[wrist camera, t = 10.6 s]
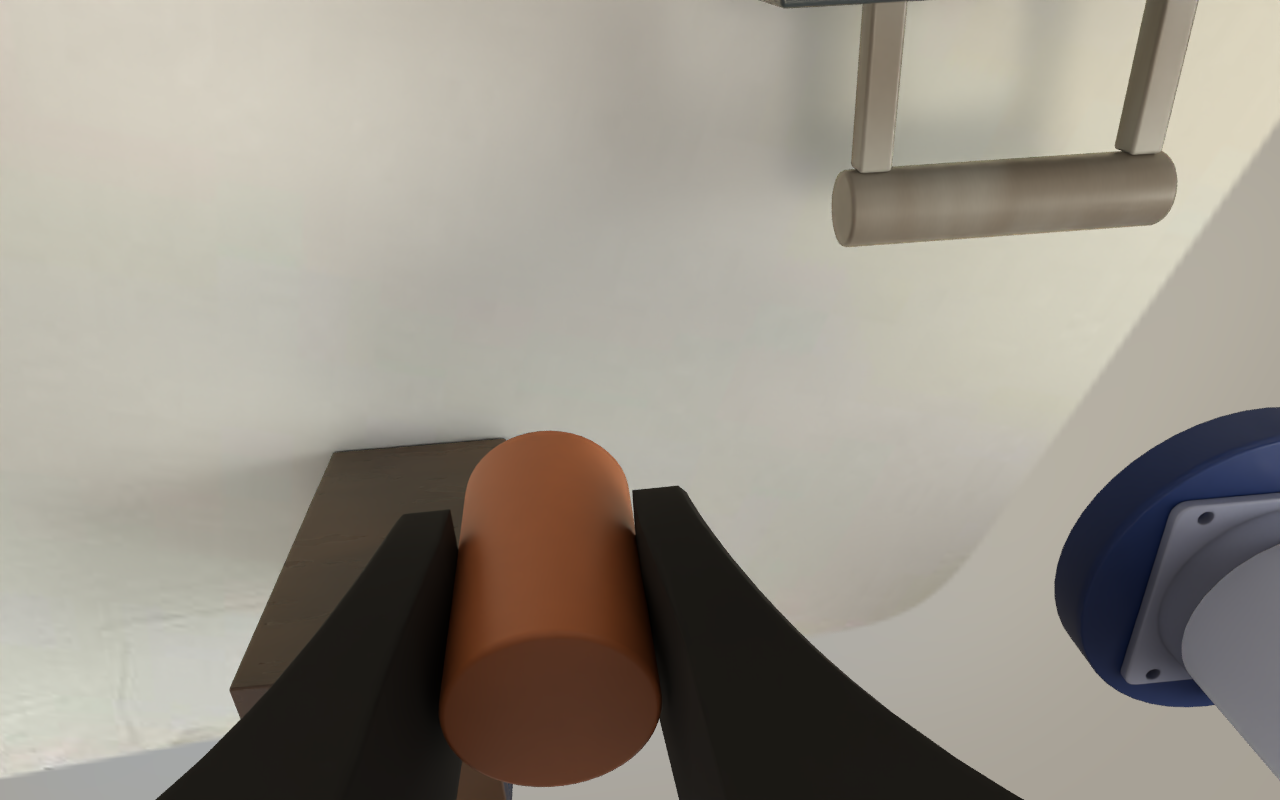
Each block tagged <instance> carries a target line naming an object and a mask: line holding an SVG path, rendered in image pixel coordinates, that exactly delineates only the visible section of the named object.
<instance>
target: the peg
mask: <svg viewBox="0 0 1280 800" xmlns="http://www.w3.org/2000/svg"><path fill="white" fill-rule="evenodd" d="M661 709H662V694H661V687H660V681H659V675H658V668H657V662H656V656H655V650H654V644H653V637H652V631H651V625H650V619H649V612H648V606H647V601H646V597H645V592H644V587H643V581H642V575H641V568H640V562H639V556H638V549H637V543H636V537H635V525H634V519H633V513H632V507H631V501H630V494H629V488H628V483H627V480H626V477H625V474H624V472H623V470H622V468H621V467H620V465H619V464H618V463H617V461H616V460H615V459H614V458H613V457H612V456H611V455H610V454H609V453H608V452H607V451H606V450H605V449H603V448H602V447H601V446H599V445H598V444H596V443H594V442H593V441H591V440H589V439H586V438H584V437H582V436H579V435H575V434H572V433H567V432H561V431H537V432H531V433H526V434H523V435H519V436H516V437H514V438H511V439H509V440H507V441H505V442H503V443H501V444H499V445H498V446H497V447H495V448H494V449H492V450H491V451H490V452H489V453H488V454H487V455H485V456H484V457H483V458H482V459H481V461H480V462H479V463H478V464H477V466H476V467H475V469H474V470H473V472H472V474H471V476H470V478H469V481H468V484H467V488H466V493H465V501H464V509H463V517H462V525H461V533H460V540H459V548H458V558H457V566H456V574H455V581H454V589H453V597H452V605H451V612H450V620H449V627H448V635H447V643H446V651H445V659H444V667H443V675H442V683H441V691H440V699H439V711H438V715H439V722H440V726H441V729H442V732H443V735H444V737H445V739H446V741H447V743H448V744H449V746H450V748H451V749H452V750H453V751H454V753H455V754H456V755H457V756H458V757H459V758H460V759H461V760H462V761H463V762H464V763H466V764H467V765H469V766H470V767H471V768H473V769H474V770H476V771H478V772H480V773H482V774H484V775H486V776H488V777H491V778H493V779H496V780H499V781H503V782H506V783H510V784H516V785H522V786H532V787H554V786H564V785H570V784H576V783H580V782H584V781H587V780H590V779H593V778H596V777H599V776H602V775H604V774H606V773H608V772H610V771H613V770H614V769H616V768H617V767H619V766H621V765H623V764H624V763H626V762H627V761H628V760H630V759H631V758H632V757H633V756H635V755H636V754H637V753H638V752H639V751H640V750H641V749H642V748H643V747H644V745H645V744H646V743H647V742H648V740H649V739H650V737H651V735H652V734H653V732H654V730H655V728H656V726H657V723H658V721H659V718H660V713H661Z"/></svg>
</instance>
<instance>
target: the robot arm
mask: <svg viewBox="0 0 1280 800" xmlns="http://www.w3.org/2000/svg"><path fill="white" fill-rule="evenodd" d="M632 493H633V507H634V522H635V537H636V543H637V549H638V556H639V562H640V568H641V575H642V581H643V587H644V592H645V597H646V601H647V606H648V612H649V619H650V625H651V631H652V637H653V644H654V650H655V656H656V662H657V668H658V675H659V681H660V687H661V694H662V709H661V713H660V723H661V727H662V731H663V735H664V739H665V743H666V747H667V751H668V756H669V760H670V763H671V768H672V772H673V776H674V780H675V784H676V788H677V793H678V797H679V800H1024V799H1022V798H1020V797H1018V796H1016V795H1015V794H1013V793H1011V792H1010V791H1008V790H1006V789H1005V788H1003V787H1002V786H1000V785H998V784H997V783H995V782H993V781H992V780H990V779H988V778H987V777H986V776H984V775H982V774H981V773H979V772H978V771H976V770H974V769H973V768H971V767H970V766H968V765H966V764H965V763H963V762H962V761H960V760H958V759H957V758H955V757H954V756H953V755H951V754H950V753H948V752H947V751H946V750H944V749H943V748H941V747H940V746H938V745H937V744H936V743H934V742H933V741H931V740H930V739H929V738H927V737H926V736H924V735H923V734H922V733H920V732H919V731H917V730H916V729H915V728H913V727H912V726H910V725H909V724H908V723H906V722H905V721H903V720H902V719H900V718H899V717H898V716H896V715H895V714H893V713H892V712H891V711H889V710H888V709H887V708H886V707H884V706H883V705H882V704H881V703H880V702H878V701H877V700H876V699H875V698H873V697H872V696H871V695H870V694H868V693H867V692H866V691H865V690H863V689H862V688H861V687H860V686H858V685H857V684H856V683H855V682H853V681H852V680H851V679H850V678H849V677H848V676H847V675H846V674H844V673H843V672H842V671H841V670H840V669H839V668H838V667H836V666H835V665H834V664H833V663H832V662H831V661H829V660H828V659H827V658H826V657H825V656H824V655H823V654H822V653H821V652H819V650H817V649H816V648H815V647H814V646H813V645H812V644H811V643H810V642H809V641H808V640H807V639H806V638H805V637H804V636H803V635H802V634H801V633H800V632H799V631H798V630H797V629H796V628H795V627H794V626H793V625H792V624H791V623H790V622H789V621H788V620H787V619H786V618H785V617H784V616H783V615H782V614H781V613H780V612H779V611H778V610H777V609H776V608H775V607H774V605H773V604H772V603H771V602H770V601H769V600H768V599H767V598H766V597H765V596H764V594H763V593H762V592H761V591H760V590H759V589H758V588H757V587H756V585H755V584H754V583H753V582H752V581H751V580H750V578H749V577H748V576H747V575H746V574H745V572H744V571H743V570H742V569H741V568H740V567H739V565H738V564H737V563H736V562H735V561H734V559H733V558H732V557H731V556H730V554H729V553H728V552H727V551H726V549H725V548H724V547H723V546H722V544H721V543H720V541H719V540H718V539H717V537H716V536H715V535H714V533H713V532H712V531H711V529H710V528H709V527H708V525H707V524H706V522H705V521H704V520H703V518H702V517H701V515H700V514H699V512H698V511H697V509H696V507H695V506H694V504H693V503H692V501H691V499H690V498H689V496H688V494H687V492H685V491H684V490H683V489H682V488H680V487H679V486H670V487H660V488H650V489H641V490H632ZM1203 513H1204V514H1203ZM1201 514H1202V515H1201ZM1200 515H1201V516H1200ZM1199 516H1200V517H1199ZM457 558H458V546H457V540H456V535H455V530H454V525H453V520H452V515H451V510H450V509H447V510H437V511H428V512H418V513H408V514H403V515H402V516H401V517H400V518H399V519H398V520H397V522H396V523H395V524H394V526H393V527H392V529H391V530H390V532H389V533H388V534H387V536H386V537H385V539H384V540H383V542H382V543H381V545H380V546H379V548H378V549H377V551H376V552H375V553H374V555H373V556H372V558H371V559H370V561H369V562H368V564H367V565H366V566H365V568H364V569H363V571H362V572H361V573H360V575H359V576H358V578H357V579H356V580H355V582H354V583H353V585H352V586H351V587H350V589H349V590H348V591H347V593H346V594H345V595H344V597H343V598H342V599H341V601H340V602H339V603H338V605H337V606H336V607H335V609H334V610H333V611H332V612H331V614H330V615H329V616H328V618H327V619H326V620H325V622H324V623H323V624H322V626H321V627H320V628H319V630H318V631H317V632H316V633H315V635H314V636H313V637H312V638H311V640H310V641H309V642H308V643H307V644H306V645H305V647H304V648H303V649H302V650H301V651H300V653H299V654H298V655H297V656H296V657H295V659H294V660H293V661H292V662H291V663H290V664H289V666H288V667H287V668H286V669H285V670H284V672H283V673H282V674H281V675H280V676H279V678H278V679H277V680H276V681H275V682H274V683H273V685H272V686H271V687H270V688H269V689H268V690H267V691H266V692H265V694H264V695H263V696H262V697H261V698H260V699H259V700H258V701H257V702H256V703H255V705H254V706H253V707H252V708H251V709H250V710H249V711H248V712H247V713H246V714H245V715H244V716H243V717H242V718H241V719H240V721H239V722H238V723H237V724H236V725H235V726H234V727H233V728H232V729H231V730H230V731H229V732H228V733H227V734H226V735H225V736H224V737H223V738H222V739H221V740H220V741H219V742H218V743H217V744H216V745H215V746H214V747H213V748H212V749H211V750H210V751H209V752H208V753H207V754H206V755H205V756H204V757H203V758H202V759H201V760H200V761H199V762H197V763H196V764H195V765H194V766H193V767H192V768H191V769H190V770H189V771H187V773H185V774H184V775H183V776H182V777H181V778H180V779H178V780H177V781H176V782H175V783H174V784H173V785H172V786H171V787H169V788H168V789H167V790H166V791H165V792H164V793H163V794H161V796H159V797H158V798H157V799H156V800H456V799H457V793H458V786H459V779H460V773H461V766H462V760H461V759H460V758H459V757H458V756H457V755H456V754H455V753H454V751H453V750H452V749H451V748H450V746H449V744H448V743H447V741H446V739H445V737H444V735H443V732H442V729H441V726H440V722H439V715H438V711H439V699H440V691H441V683H442V675H443V667H444V659H445V651H446V643H447V635H448V627H449V620H450V612H451V605H452V597H453V589H454V581H455V574H456V566H457ZM1121 675H1122V676H1123V678H1124V679H1125V680H1126V682H1127V683H1129V684H1136V685H1137V684H1147V683H1157V682H1167V681H1177V680H1187V679H1194V681H1195V682H1196V683H1197V684H1198V685H1199V687H1200V688H1201V689H1202V690H1203V691H1204V692H1205V694H1206V695H1207V696H1208V697H1209V698H1210V699H1211V701H1212V702H1213V703H1214V704H1215V705H1216V706H1217V708H1218V709H1219V710H1220V711H1221V712H1222V714H1223V715H1224V716H1225V717H1226V718H1227V719H1228V721H1229V722H1230V723H1231V724H1232V725H1233V726H1234V728H1235V729H1236V730H1237V731H1238V732H1239V733H1240V735H1241V736H1242V737H1243V738H1244V739H1245V741H1247V743H1248V744H1249V745H1250V746H1251V748H1252V749H1253V750H1254V751H1255V752H1256V753H1257V754H1258V756H1259V757H1260V758H1261V759H1262V760H1263V762H1264V763H1265V764H1266V765H1267V766H1268V768H1269V769H1270V770H1271V771H1272V772H1273V773H1274V774H1275V776H1276V777H1277V778H1278V779H1279V780H1280V493H1269V494H1258V495H1247V496H1235V497H1224V498H1213V499H1202V500H1191V501H1185V502H1181V503H1179V504H1177V505H1176V506H1175V507H1174V508H1173V509H1172V510H1171V512H1170V514H1169V517H1168V520H1167V523H1166V526H1165V530H1164V533H1163V536H1162V539H1161V543H1160V546H1159V549H1158V552H1157V555H1156V559H1155V562H1154V565H1153V568H1152V571H1151V575H1150V578H1149V581H1148V584H1147V587H1146V591H1145V594H1144V597H1143V600H1142V603H1141V607H1140V610H1139V613H1138V616H1137V619H1136V623H1135V626H1134V629H1133V632H1132V635H1131V639H1130V642H1129V645H1128V648H1127V652H1126V655H1125V658H1124V661H1123V664H1122V668H1121Z"/></svg>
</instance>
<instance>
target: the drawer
mask: <svg viewBox="0 0 1280 800" xmlns="http://www.w3.org/2000/svg"><path fill="white" fill-rule="evenodd" d="M760 1H763V2H766V3H769V4H772V5H775V6H779V7H782V8H801V7H819V6H836V5H853V4H863V7H862V21H861V34H860V48H859V62H858V76H857V90H856V104H855V117H854V131H853V145H852V159H851V164H852V167H854V168H855V169H851V170H844V171H842V172H840V173H839V174H838V176H837V178H836V180H835V184H834V188H833V194H832V221H833V227H834V232H835V235H836V238H837V240H838V242H839V244H840V245H842V246H844V247H857V246H870V245H884V244H898V243H912V242H926V241H940V240H953V239H967V238H981V237H995V236H1009V235H1023V234H1036V233H1050V232H1064V231H1078V230H1092V229H1106V228H1120V227H1133V226H1147V225H1153V224H1155V223H1157V222H1159V221H1161V220H1162V219H1163V218H1164V217H1165V216H1166V215H1167V214H1168V212H1169V211H1170V209H1171V207H1172V205H1173V203H1174V200H1175V197H1176V192H1177V174H1176V169H1175V166H1174V163H1173V161H1172V160H1171V158H1170V157H1169V156H1168V155H1167V154H1166V153H1165V152H1162V148H1163V144H1164V140H1165V136H1166V132H1167V127H1168V123H1169V119H1170V115H1171V111H1172V107H1173V103H1174V99H1175V95H1176V91H1177V87H1178V82H1179V78H1180V74H1181V70H1182V66H1183V62H1184V58H1185V54H1186V50H1187V46H1188V42H1189V38H1190V33H1191V29H1192V25H1193V21H1194V17H1195V13H1196V9H1197V5H1198V1H1199V0H1146V5H1145V9H1144V14H1143V18H1142V23H1141V27H1140V32H1139V37H1138V41H1137V46H1136V50H1135V55H1134V60H1133V64H1132V69H1131V73H1130V78H1129V83H1128V87H1127V92H1126V96H1125V101H1124V105H1123V110H1122V115H1121V119H1120V124H1119V128H1118V133H1117V138H1116V142H1115V148H1116V149H1118V150H1121V151H1117V152H1102V153H1087V154H1072V155H1058V156H1043V157H1028V158H1013V159H999V160H984V161H969V162H954V163H939V164H925V165H910V166H895V167H892V158H893V148H894V137H895V127H896V116H897V106H898V95H899V85H900V74H901V64H902V53H903V43H904V32H905V22H906V11H907V1H922V0H760Z"/></svg>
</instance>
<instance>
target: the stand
mask: <svg viewBox="0 0 1280 800" xmlns="http://www.w3.org/2000/svg"><path fill="white" fill-rule="evenodd" d="M505 441H506V440H505V439H494V440H481V441H469V442H457V443H445V444H433V445H420V446H408V447H396V448H384V449H372V450H359V451H347V452H335V453H333V454H332V457H331V459H330V461H329V463H328V466H327V468H326V470H325V472H324V475H323V477H322V479H321V482H320V484H319V486H318V488H317V491H316V493H315V495H314V497H313V500H312V502H311V504H310V507H309V509H308V511H307V513H306V516H305V518H304V520H303V523H302V525H301V527H300V529H299V532H298V534H297V536H296V538H295V541H294V543H293V545H292V548H291V550H290V552H289V554H288V557H287V559H286V561H285V564H284V566H283V568H282V570H281V573H280V575H279V577H278V579H277V582H276V584H275V586H274V589H273V591H272V593H271V595H270V598H269V600H268V602H267V605H266V607H265V609H264V611H263V614H262V616H261V618H260V620H259V623H258V625H257V627H256V630H255V632H254V634H253V636H252V639H251V641H250V643H249V646H248V648H247V650H246V652H245V655H244V657H243V659H242V661H241V664H240V666H239V668H238V671H237V673H236V675H235V677H234V680H233V682H232V684H231V687H230V693H231V696H232V698H233V701H234V703H235V706H236V708H237V711H238V713H239V716H240V719H241V718H242V717H243V716H244V715H245V714H246V713H247V712H248V711H249V710H250V709H251V708H252V707H253V706H254V705H255V703H256V702H257V701H258V700H259V699H260V698H261V697H262V696H263V695H264V694H265V692H266V691H267V690H268V689H269V688H270V687H271V686H272V685H273V683H274V682H275V681H276V680H277V679H278V678H279V676H280V675H281V674H282V673H283V672H284V670H285V669H286V668H287V667H288V666H289V664H290V663H291V662H292V661H293V660H294V659H295V657H296V656H297V655H298V654H299V653H300V651H301V650H302V649H303V648H304V647H305V645H306V644H307V643H308V642H309V641H310V640H311V638H312V637H313V636H314V635H315V633H316V632H317V631H318V630H319V628H320V627H321V626H322V624H323V623H324V622H325V620H326V619H327V618H328V616H329V615H330V614H331V612H332V611H333V610H334V609H335V607H336V606H337V605H338V603H339V602H340V601H341V599H342V598H343V597H344V595H345V594H346V593H347V591H348V590H349V589H350V587H351V586H352V585H353V583H354V582H355V580H356V579H357V578H358V576H359V575H360V573H361V572H362V571H363V569H364V568H365V566H366V565H367V564H368V562H369V561H370V559H371V558H372V556H373V555H374V553H375V552H376V551H377V549H378V548H379V546H380V545H381V543H382V542H383V540H384V539H385V537H386V536H387V534H388V533H389V532H390V530H391V529H392V527H393V526H394V524H395V523H396V522H397V520H398V519H399V518H400V517H401V516H402V515H403V514H408V513H418V512H428V511H437V510H447V509H450V510H451V515H452V520H453V525H454V530H455V535H456V540H457V546H458V548H459V540H460V533H461V525H462V517H463V509H464V501H465V493H466V488H467V484H468V481H469V478H470V476H471V474H472V472H473V470H474V469H475V467H476V466H477V464H478V463H479V462H480V461H481V459H482V458H483V457H484V456H485V455H487V454H488V453H489V452H490V451H491V450H492V449H494V448H495V447H497V446H498V445H499V444H501V443H503V442H505ZM512 788H513V784H510V783H506V782H503V781H499V780H496V779H493V778H491V777H488V776H486V775H484V774H482V773H480V772H478V771H476V770H474V769H473V768H471V767H470V766H469V765H467V764H466V763H464V762H463V761H462V766H461V773H460V779H459V786H458V793H457V799H456V800H512Z"/></svg>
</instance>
